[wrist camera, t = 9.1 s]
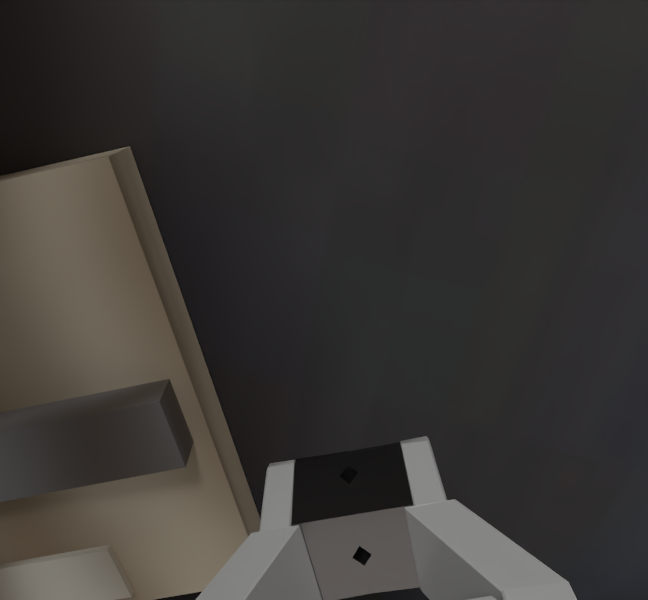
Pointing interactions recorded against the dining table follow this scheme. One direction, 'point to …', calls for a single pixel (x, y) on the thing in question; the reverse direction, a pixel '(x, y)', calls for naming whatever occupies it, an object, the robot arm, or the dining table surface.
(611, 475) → the dining table surface
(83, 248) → the frame
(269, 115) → the dining table surface
